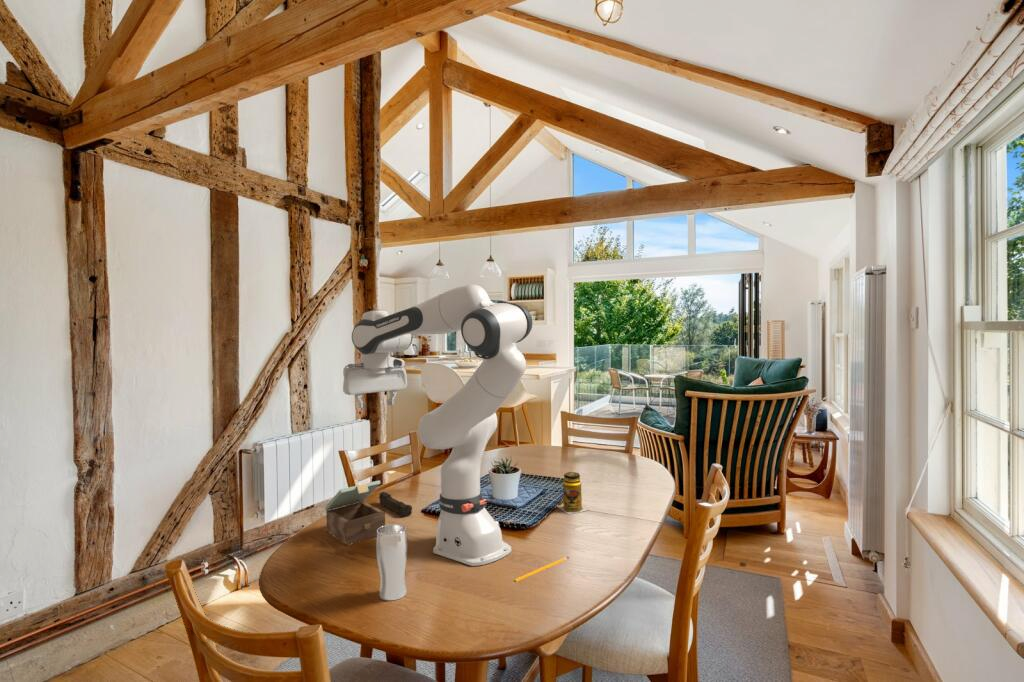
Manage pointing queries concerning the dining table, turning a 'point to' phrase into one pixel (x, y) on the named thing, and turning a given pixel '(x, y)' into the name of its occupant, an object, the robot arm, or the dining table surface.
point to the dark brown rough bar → (395, 505)
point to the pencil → (541, 569)
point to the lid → (352, 495)
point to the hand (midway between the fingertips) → (376, 406)
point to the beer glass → (392, 560)
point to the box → (355, 522)
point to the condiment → (572, 493)
